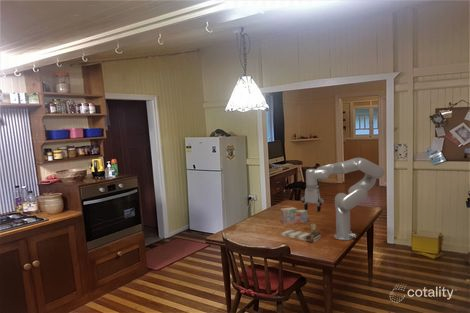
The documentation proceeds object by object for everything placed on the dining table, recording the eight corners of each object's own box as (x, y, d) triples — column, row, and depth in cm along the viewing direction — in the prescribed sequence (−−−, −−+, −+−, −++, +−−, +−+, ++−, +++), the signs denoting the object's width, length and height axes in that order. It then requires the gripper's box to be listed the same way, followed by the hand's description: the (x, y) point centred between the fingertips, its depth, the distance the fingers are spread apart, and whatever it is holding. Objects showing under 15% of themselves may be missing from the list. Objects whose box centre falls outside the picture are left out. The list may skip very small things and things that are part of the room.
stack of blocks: (304, 220, 281) (304, 205, 280) (307, 222, 275) (307, 207, 274) (280, 222, 277) (280, 208, 276) (283, 224, 271) (282, 210, 270)
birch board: (320, 237, 235) (320, 235, 235) (314, 242, 228) (314, 239, 227) (288, 232, 252) (288, 229, 252) (281, 235, 244) (281, 232, 244)
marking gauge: (321, 236, 237) (320, 222, 236) (312, 242, 226) (311, 227, 225) (314, 235, 240) (314, 221, 239) (305, 240, 230) (305, 226, 229)
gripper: (325, 186, 228) (326, 211, 229) (303, 184, 239) (304, 208, 240) (320, 188, 222) (321, 213, 223) (298, 186, 233) (298, 210, 235)
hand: (312, 210), depth 232 cm, fingers open, 9 cm apart
